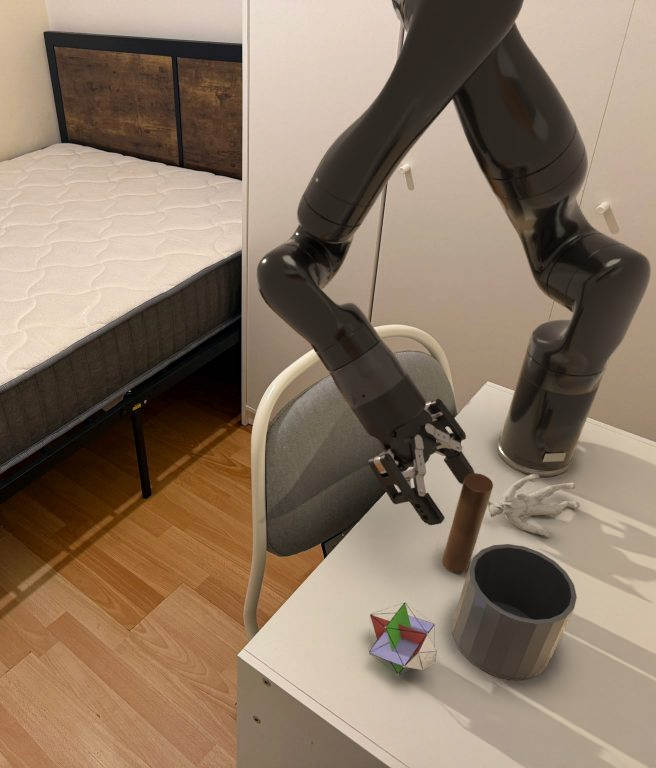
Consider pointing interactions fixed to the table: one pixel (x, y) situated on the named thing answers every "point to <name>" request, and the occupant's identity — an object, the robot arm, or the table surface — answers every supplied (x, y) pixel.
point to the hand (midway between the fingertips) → (453, 501)
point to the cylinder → (467, 522)
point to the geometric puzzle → (404, 640)
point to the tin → (512, 611)
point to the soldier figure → (529, 504)
